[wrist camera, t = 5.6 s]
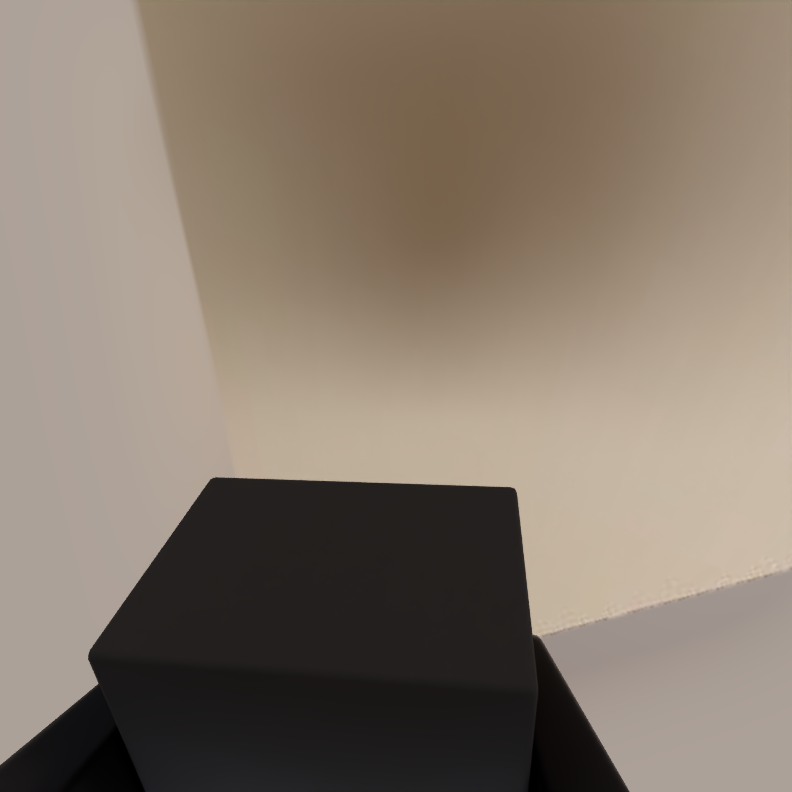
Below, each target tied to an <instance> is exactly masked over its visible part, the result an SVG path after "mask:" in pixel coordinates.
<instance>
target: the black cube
mask: <svg viewBox="0 0 792 792" xmlns="http://www.w3.org/2000/svg"><path fill="white" fill-rule="evenodd" d="M88 660H89V662H90V664H91V666H92V669H93V671H94V673H95V676H96V678H97V681H98V683H99V685H100V688H101V690H102V692H103V694H104V697H105V699H106V701H107V704H108V706H109V708H110V711H111V713H112V715H113V718H114V720H115V722H116V725H117V727H118V729H119V732H120V734H121V736H122V739H123V741H124V743H125V746H126V748H127V750H128V753H129V755H130V757H131V760H132V762H133V764H134V766H135V769H136V771H137V773H138V776H139V778H140V780H141V783H142V785H143V787H144V790H145V792H528V788H529V778H530V768H531V758H532V748H533V738H534V728H535V718H536V708H537V698H538V682H537V673H536V663H535V654H534V645H533V636H532V627H531V618H530V608H529V599H528V590H527V581H526V572H525V563H524V554H523V544H522V535H521V526H520V517H519V508H518V499H517V493H516V490H515V489H514V488H511V487H486V486H456V485H426V484H396V483H366V482H337V481H307V480H277V479H247V478H217V477H216V478H213V479H211V480H210V481H209V482H208V484H207V485H206V487H205V488H204V489H203V491H202V492H201V494H200V495H199V497H198V498H197V500H196V501H195V502H194V504H193V505H192V506H191V508H190V509H189V511H188V512H187V513H186V515H185V516H184V518H183V519H182V521H181V522H180V523H179V525H178V526H177V528H176V529H175V531H174V532H173V533H172V535H171V536H170V538H169V539H168V540H167V542H166V543H165V545H164V546H163V548H162V549H161V550H160V552H159V553H158V555H157V556H156V558H155V559H154V560H153V562H152V563H151V565H150V566H149V568H148V569H147V570H146V572H145V573H144V574H143V576H142V577H141V579H140V580H139V581H138V583H137V584H136V586H135V587H134V589H133V590H132V591H131V593H130V594H129V596H128V597H127V598H126V600H125V601H124V603H123V604H122V606H121V607H120V608H119V610H118V611H117V613H116V614H115V615H114V617H113V618H112V620H111V621H110V623H109V624H108V625H107V627H106V628H105V630H104V631H103V632H102V634H101V635H100V637H99V638H98V640H97V641H96V642H95V644H94V645H93V647H92V648H91V649H90V652H89V655H88Z"/></svg>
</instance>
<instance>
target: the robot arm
mask: <svg viewBox="0 0 792 792" xmlns="http://www.w3.org/2000/svg"><path fill="white" fill-rule="evenodd" d="M532 636H533V645H534V654H535V663H536V673H537V682H538V698H537V708H536V718H535V728H534V738H533V748H532V758H531V768H530V778H529V788H528V792H629V790H628V788H627V787H626V785H625V783H624V781H623V780H622V778H621V776H620V775H619V773H618V771H617V769H616V768H615V766H614V764H613V763H612V761H611V759H610V758H609V756H608V754H607V752H606V750H605V749H604V747H603V745H602V744H601V742H600V740H599V738H598V737H597V735H596V733H595V731H594V730H593V728H592V726H591V725H590V723H589V721H588V719H587V718H586V716H585V715H584V712H583V711H582V709H581V707H580V706H579V704H578V702H577V701H576V699H575V697H574V695H573V694H572V692H571V690H570V688H569V687H568V685H567V683H566V681H565V680H564V678H563V676H562V674H561V673H560V671H559V669H558V668H557V666H556V664H555V663H554V661H553V659H552V657H551V656H550V654H549V652H548V650H547V649H546V647H545V645H544V643H543V642H542V640H541V639H540V638H539V637H538V636H537V635H532ZM0 792H145V790H144V787H143V785H142V783H141V780H140V778H139V776H138V773H137V771H136V769H135V766H134V764H133V762H132V760H131V757H130V755H129V753H128V750H127V748H126V746H125V743H124V741H123V739H122V736H121V734H120V732H119V729H118V727H117V725H116V722H115V720H114V718H113V715H112V713H111V711H110V708H109V706H108V704H107V701H106V699H105V697H104V694H103V692H102V690H101V688H100V685H99V684H98V685H97V686H95V687H94V688H93V689H92V690H90V691H89V692H88V693H87V694H86V695H85V696H83V697H82V698H81V699H80V700H78V701H77V702H76V703H75V704H74V705H72V706H71V707H70V708H69V709H68V710H66V711H65V712H64V713H63V714H62V715H60V716H59V717H58V718H57V719H55V720H54V721H53V722H52V723H51V724H49V725H48V726H47V727H46V728H45V729H43V730H42V731H41V732H40V733H39V734H37V735H36V736H35V737H34V738H33V739H31V740H30V741H29V742H28V743H27V744H25V745H24V746H23V747H22V748H20V749H19V750H18V751H17V752H16V753H14V754H13V755H12V756H11V757H10V758H8V759H7V760H6V761H5V762H4V763H2V764H1V765H0Z"/></svg>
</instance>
